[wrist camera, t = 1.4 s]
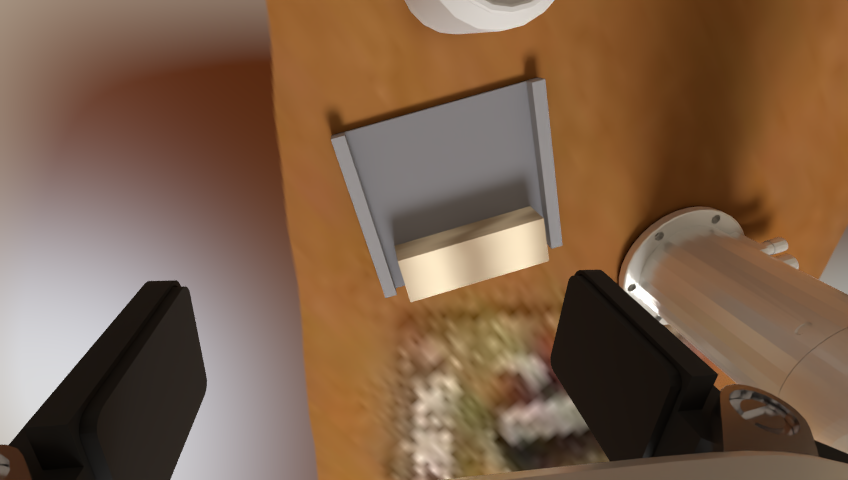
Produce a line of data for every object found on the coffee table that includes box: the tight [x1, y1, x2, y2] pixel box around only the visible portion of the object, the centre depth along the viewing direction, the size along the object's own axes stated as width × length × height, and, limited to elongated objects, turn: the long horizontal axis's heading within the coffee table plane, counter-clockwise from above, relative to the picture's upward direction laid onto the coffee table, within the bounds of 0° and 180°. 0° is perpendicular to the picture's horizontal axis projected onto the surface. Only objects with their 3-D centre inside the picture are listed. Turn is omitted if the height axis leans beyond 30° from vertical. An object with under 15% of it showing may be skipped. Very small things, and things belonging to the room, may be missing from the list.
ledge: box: [394, 206, 549, 302], centre depth 35 cm, size 12×4×3 cm, turn 103°
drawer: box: [331, 78, 562, 298], centre depth 34 cm, size 16×14×2 cm
